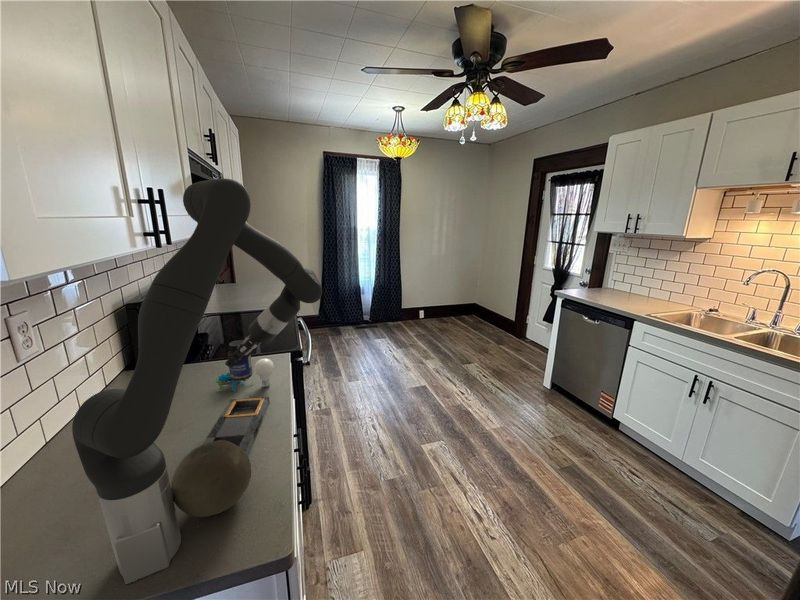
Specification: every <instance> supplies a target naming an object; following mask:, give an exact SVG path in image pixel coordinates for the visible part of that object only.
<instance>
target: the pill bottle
mask: <svg viewBox="0 0 800 600" xmlns="http://www.w3.org/2000/svg"><path fill="white" fill-rule="evenodd" d="M243 341H244V339H239V340H238V339H237V340H233V341H231V342H229V344H228V348H229V351H228V352H227V360H228V359H229V358H230V355H231V354H233V353H234V352H235V351H236V350H237V347H238V346H239V345H240V344H241V343H242V342H243ZM251 356H252V355H251V352H250V353H248V354H247V355H244V356H243V357H242V358H241V360H239V361H238V362H237V363H236V364H235V365H234V366H233V367H231V368H229V367H228V370H229V373H230V378H231V379H232V380H234V381H240V380H245V379H246V380H248V379H247V378H249V379H250V378H251V377H252V376H253V373H254V372H253V365H252V357H251Z"/></svg>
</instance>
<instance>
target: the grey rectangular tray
mask: <svg viewBox="0 0 800 600" xmlns="http://www.w3.org/2000/svg"><path fill="white" fill-rule="evenodd" d="M270 404H271V401H270V396H260V397H248V398H246V397H245V398H233V399H232V398H231V399H230V400H229V402H228V403H227V405H226V406H225V408H224V410H223V411H222V413H221V414H220V416H219V418H217V421H216V422H215V423H214V425H213V427H211V428H212V429H211V430H210V432H209V434H208V435H207V437H206V438H205V440H204V441H203V442H202V444H201V445H203V444H206V443H210V442H214V441H218V440H224V441H229V442H232V443H233V444H239V446H238V447H240V448H242V449H243V450H244V451H245V452H246V454H247V456H248V457H249V455H250V453H251V450H252V447H253V445H254V443H255V441H256V439H257V435H258V433H259V431H260V429H259V428H261V426H262V423H263V421H264V419H265V415H266V414H267V412H266V411H268V409H269V407H268V406H270ZM248 408H250V409H251V408H256V409H255V412H254V413H245V414H243V413H242V414H236V411H237V410H238V409H248ZM263 418H264V419H263Z"/></svg>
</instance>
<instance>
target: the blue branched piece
mask: <svg viewBox="0 0 800 600" xmlns="http://www.w3.org/2000/svg"><path fill="white" fill-rule="evenodd" d="M247 380H250V377H249V378H247V379H245V380H240V381H234V380H232V379H231V378H230V372H226V374H225V373H221V375H220V376H218V378H216V379H215V383H216V384H217V385H218V386H219V392H221V393H222V389H223V386H226V385H231V392H233V393H234V392H236V384H237V383H242V382H247Z"/></svg>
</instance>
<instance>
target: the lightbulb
mask: <svg viewBox="0 0 800 600" xmlns="http://www.w3.org/2000/svg"><path fill="white" fill-rule="evenodd" d="M274 366H275V365H274V362H273V360H271V359H269V358H267V357H265V358H260V359H258V360H257V361H256V363H255V365H254V372H255V374H257V375H258V376H259V378H260V380H261V386H262V387H264V388H267V387H269V386H270V385H271V382H270V379H271V375H272V373H273V371H274Z"/></svg>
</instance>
